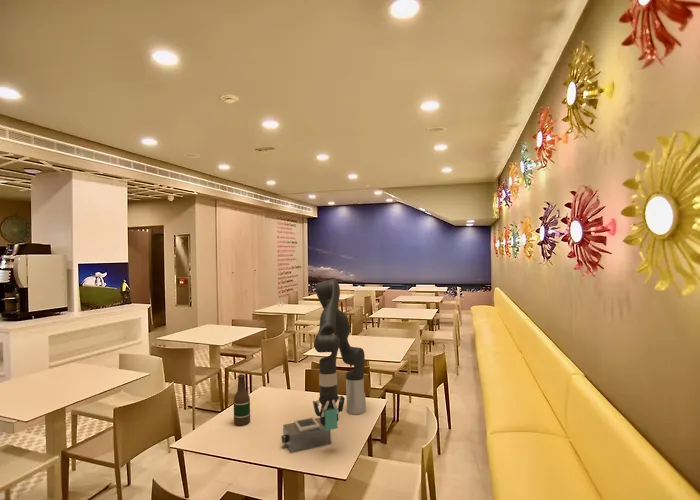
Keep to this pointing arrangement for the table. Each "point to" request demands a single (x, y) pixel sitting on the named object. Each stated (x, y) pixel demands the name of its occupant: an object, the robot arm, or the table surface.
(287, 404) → the table surface
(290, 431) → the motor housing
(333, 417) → the block
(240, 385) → the beer bottle
